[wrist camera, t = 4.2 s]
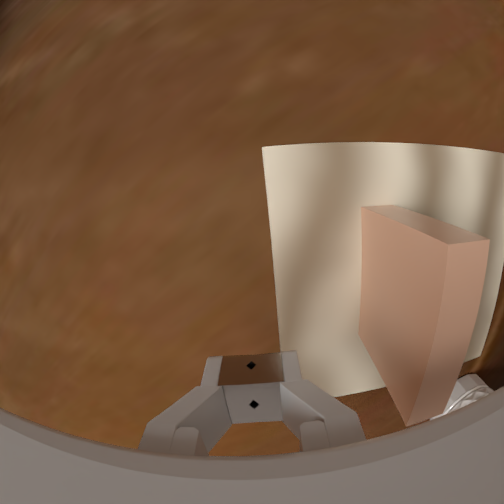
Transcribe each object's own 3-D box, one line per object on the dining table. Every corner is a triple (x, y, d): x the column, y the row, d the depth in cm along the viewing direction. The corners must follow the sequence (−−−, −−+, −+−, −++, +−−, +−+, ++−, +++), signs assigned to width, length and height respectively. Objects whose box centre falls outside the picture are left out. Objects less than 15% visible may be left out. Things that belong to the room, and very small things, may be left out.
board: (497, 153, 14) (507, 154, 13) (473, 349, 19) (480, 355, 18) (261, 148, 15) (262, 146, 14) (283, 392, 20) (284, 403, 18)
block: (397, 204, 14) (494, 238, 7) (390, 328, 17) (447, 411, 9) (360, 206, 15) (448, 244, 7) (358, 334, 17) (406, 426, 9)
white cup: (478, 354, 19) (534, 417, 9) (485, 390, 21) (525, 444, 11) (415, 405, 21) (456, 482, 11) (431, 432, 22) (462, 494, 13)
